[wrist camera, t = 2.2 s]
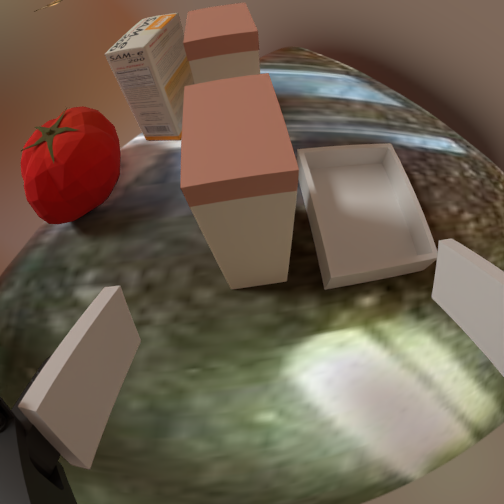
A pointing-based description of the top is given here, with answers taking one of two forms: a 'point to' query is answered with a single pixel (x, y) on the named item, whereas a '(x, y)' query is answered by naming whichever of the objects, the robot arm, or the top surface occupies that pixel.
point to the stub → (240, 176)
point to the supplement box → (153, 74)
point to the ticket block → (221, 43)
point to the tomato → (70, 165)
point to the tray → (363, 214)
